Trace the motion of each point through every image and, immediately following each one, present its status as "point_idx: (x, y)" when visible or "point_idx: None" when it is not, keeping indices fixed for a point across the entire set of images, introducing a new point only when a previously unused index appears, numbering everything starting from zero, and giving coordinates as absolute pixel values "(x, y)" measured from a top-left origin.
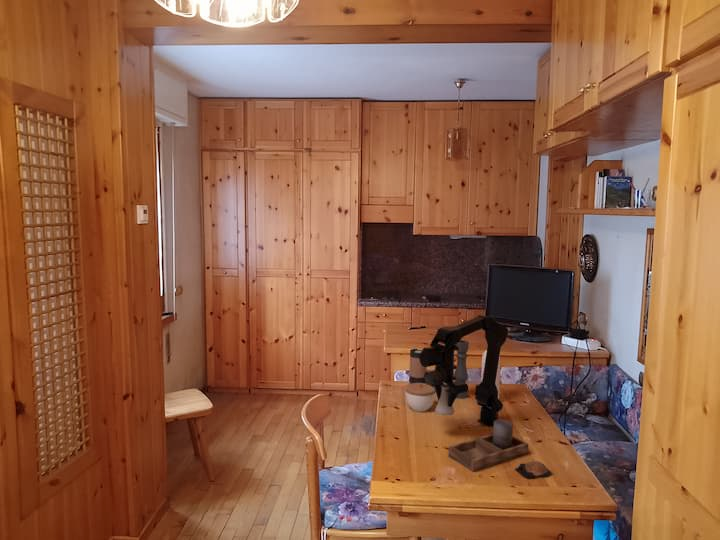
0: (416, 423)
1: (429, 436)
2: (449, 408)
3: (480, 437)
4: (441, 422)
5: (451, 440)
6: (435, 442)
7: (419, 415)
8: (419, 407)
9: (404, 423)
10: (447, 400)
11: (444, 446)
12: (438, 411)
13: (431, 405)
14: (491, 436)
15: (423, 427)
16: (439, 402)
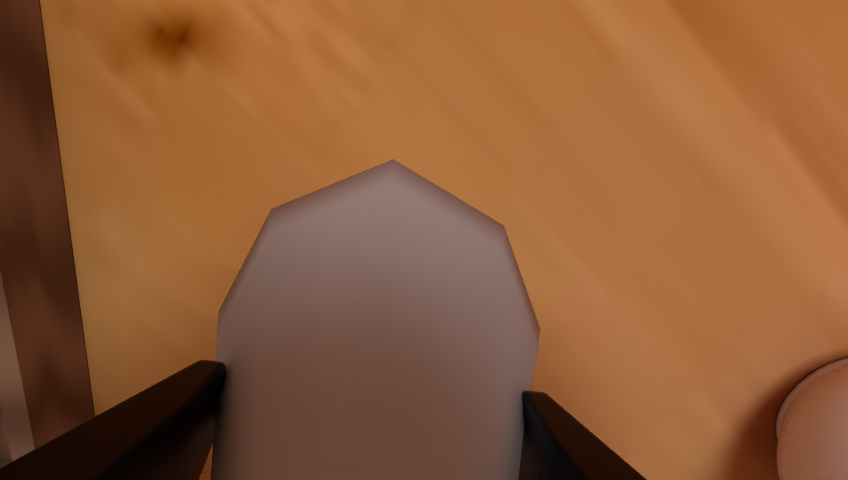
0: (707, 198)
1: (456, 91)
2: (225, 349)
3: (8, 319)
4: (569, 364)
5: (285, 189)
6: (332, 39)
7: (776, 326)
8: (844, 382)
9: (793, 110)
10: (226, 464)
11: (223, 44)
12: (373, 186)
13: (780, 475)
14: (6, 407)
15: (613, 187)
16: (418, 316)
